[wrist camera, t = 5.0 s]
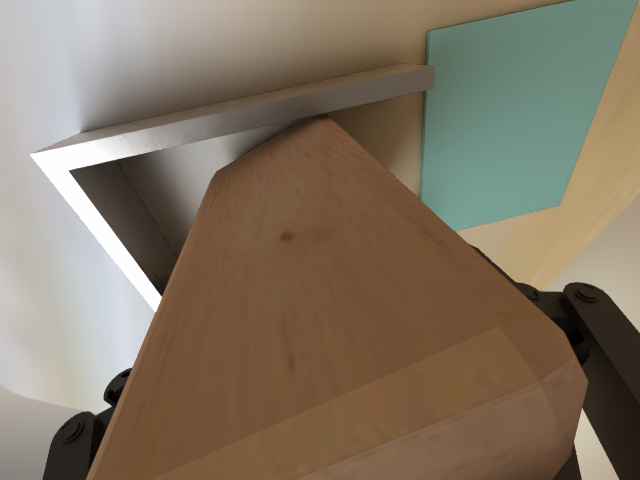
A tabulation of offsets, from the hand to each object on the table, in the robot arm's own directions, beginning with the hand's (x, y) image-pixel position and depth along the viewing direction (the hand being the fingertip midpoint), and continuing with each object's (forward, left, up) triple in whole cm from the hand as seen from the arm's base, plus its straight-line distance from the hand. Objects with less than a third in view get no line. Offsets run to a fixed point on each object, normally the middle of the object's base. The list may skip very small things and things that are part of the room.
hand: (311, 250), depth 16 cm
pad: (0, -20, -10) cm, 22 cm away
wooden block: (0, 0, -8) cm, 8 cm away
